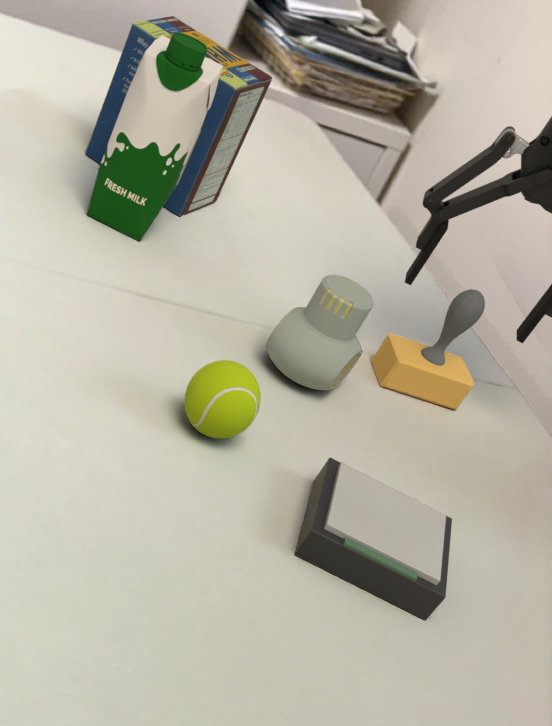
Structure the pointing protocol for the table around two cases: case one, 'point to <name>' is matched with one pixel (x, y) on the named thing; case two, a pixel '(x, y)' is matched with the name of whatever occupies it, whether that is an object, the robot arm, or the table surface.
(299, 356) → the air freshener
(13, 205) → the table surface
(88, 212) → the milk carton
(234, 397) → the tennis ball
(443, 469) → the table surface
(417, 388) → the rubber stamp
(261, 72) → the protein box
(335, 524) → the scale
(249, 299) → the table surface
